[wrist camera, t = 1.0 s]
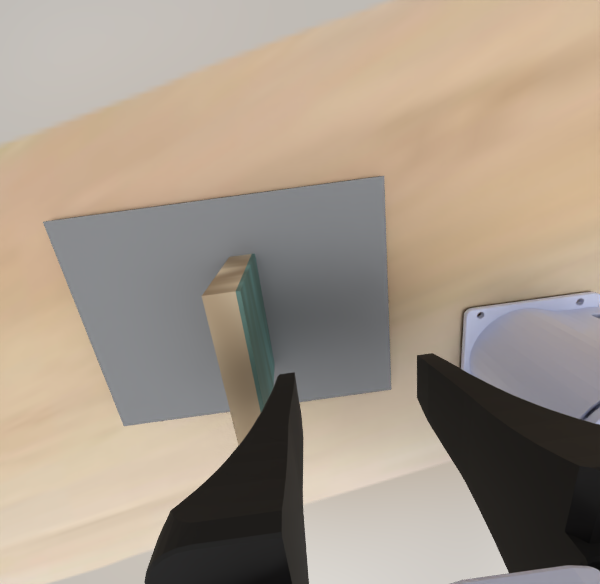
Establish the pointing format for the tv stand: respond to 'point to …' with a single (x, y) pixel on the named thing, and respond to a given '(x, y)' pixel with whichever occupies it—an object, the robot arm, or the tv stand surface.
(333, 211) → the mat
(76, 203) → the tv stand surface
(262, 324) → the tile
